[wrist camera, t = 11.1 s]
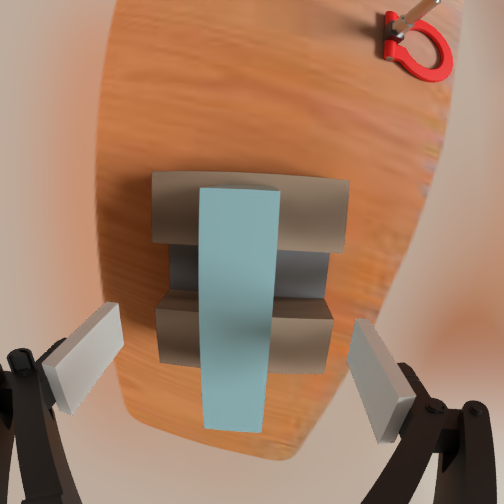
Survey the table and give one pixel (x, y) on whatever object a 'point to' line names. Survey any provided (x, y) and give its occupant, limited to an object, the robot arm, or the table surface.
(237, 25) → the table surface
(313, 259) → the grey grooved block
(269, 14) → the table surface
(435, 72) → the tow hook
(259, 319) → the teal beam
